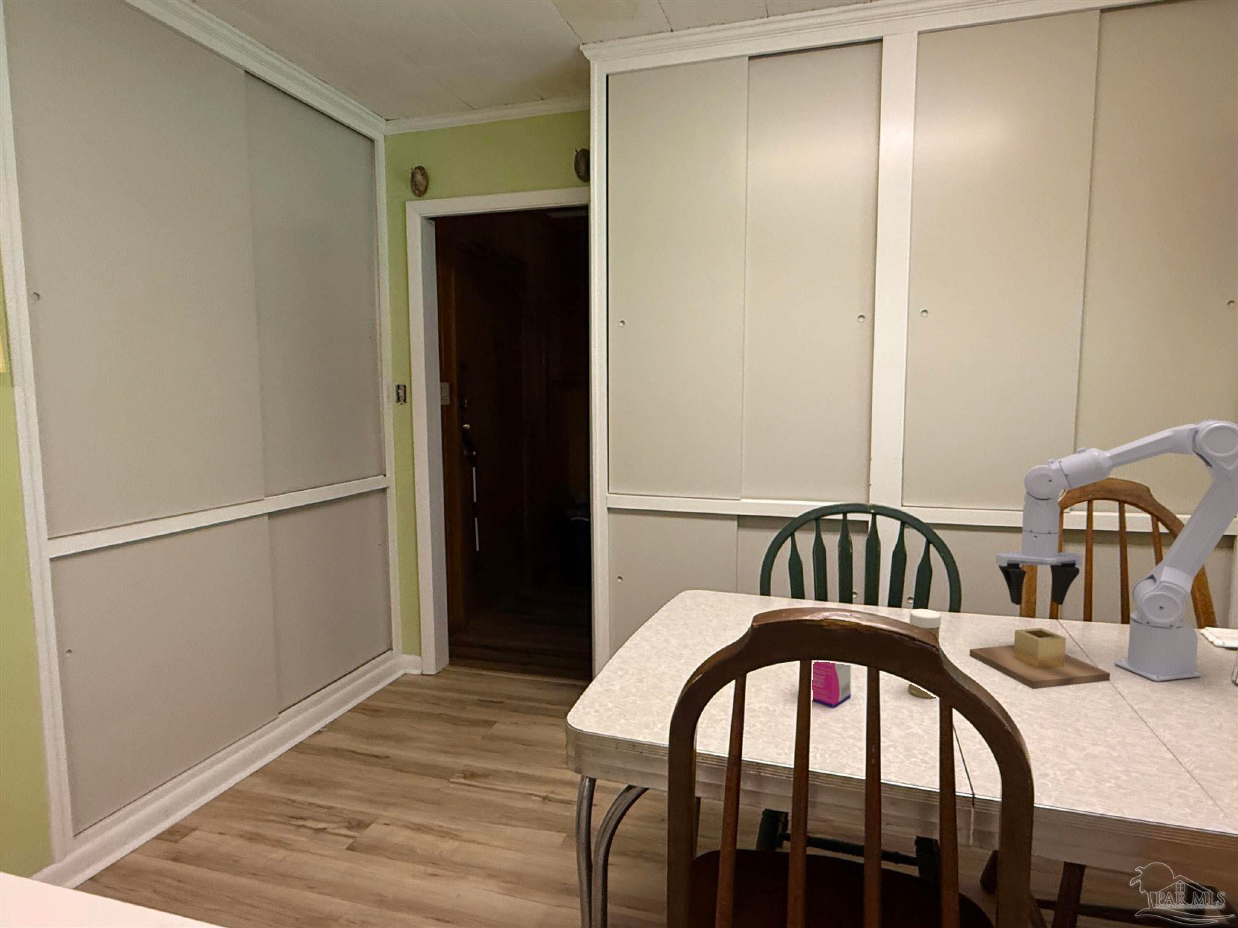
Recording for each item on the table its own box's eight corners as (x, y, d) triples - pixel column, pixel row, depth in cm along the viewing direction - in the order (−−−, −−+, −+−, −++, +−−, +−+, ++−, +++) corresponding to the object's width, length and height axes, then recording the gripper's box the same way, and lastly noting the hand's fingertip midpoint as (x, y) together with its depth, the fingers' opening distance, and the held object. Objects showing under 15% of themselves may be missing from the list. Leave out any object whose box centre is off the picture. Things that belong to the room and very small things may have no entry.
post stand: (1039, 648, 132) (1040, 622, 132) (1109, 680, 118) (1111, 651, 117) (969, 655, 129) (970, 629, 129) (1032, 688, 115) (1034, 658, 114)
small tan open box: (1039, 654, 126) (1041, 627, 125) (1064, 665, 121) (1065, 637, 120) (1013, 657, 125) (1014, 629, 124) (1037, 668, 120) (1038, 640, 119)
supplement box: (818, 686, 116) (819, 619, 115) (851, 697, 112) (853, 627, 111) (799, 697, 112) (800, 627, 111) (833, 708, 108) (835, 637, 107)
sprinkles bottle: (943, 694, 113) (947, 613, 111) (927, 701, 110) (930, 618, 109) (918, 684, 116) (920, 606, 115) (901, 691, 114) (903, 611, 113)
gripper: (1012, 535, 124) (1008, 610, 125) (1094, 535, 124) (1090, 609, 125) (991, 527, 131) (988, 598, 132) (1069, 527, 131) (1066, 598, 132)
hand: (1036, 603), depth 129 cm, fingers open, 7 cm apart
